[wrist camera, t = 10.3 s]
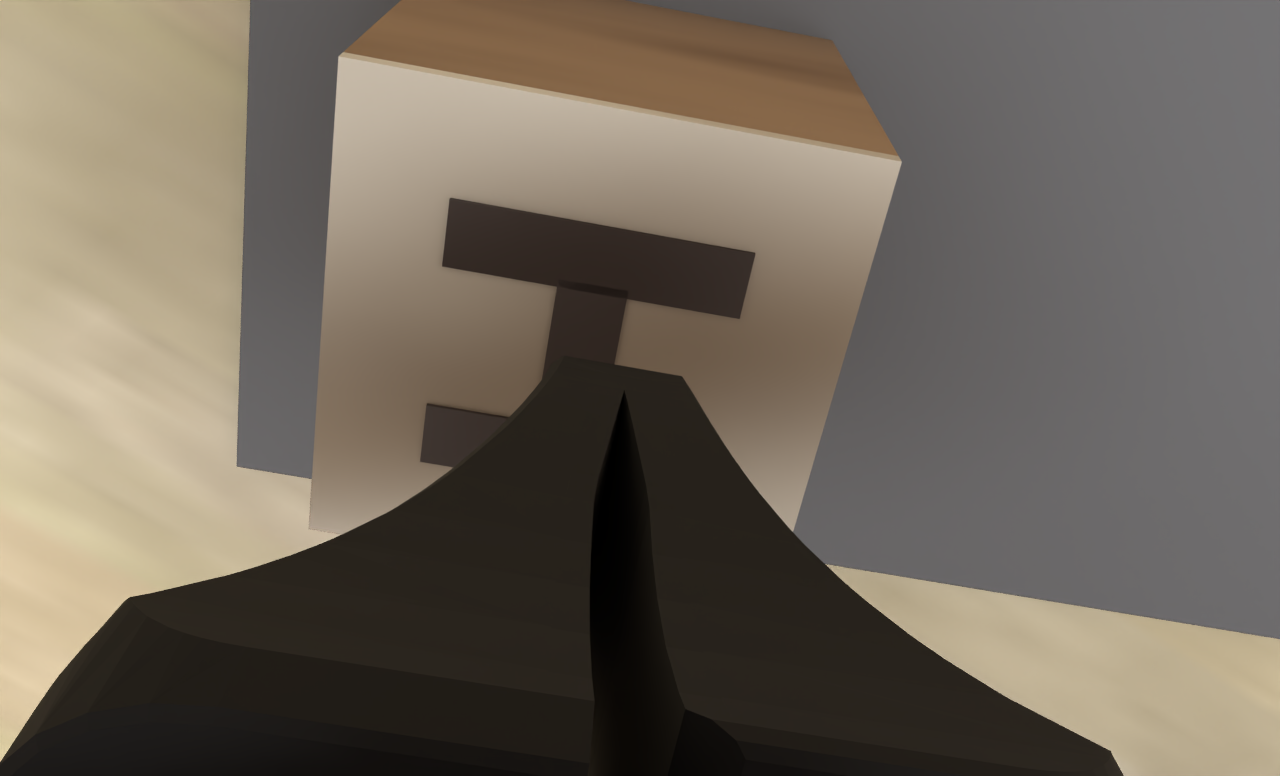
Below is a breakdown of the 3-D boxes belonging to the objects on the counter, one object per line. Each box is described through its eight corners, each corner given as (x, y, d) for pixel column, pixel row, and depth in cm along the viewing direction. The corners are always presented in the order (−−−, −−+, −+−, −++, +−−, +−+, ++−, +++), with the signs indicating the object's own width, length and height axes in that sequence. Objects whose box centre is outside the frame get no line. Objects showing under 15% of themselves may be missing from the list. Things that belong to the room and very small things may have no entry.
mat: (1402, 650, 24) (1410, 660, 24) (241, 457, 22) (236, 466, 22) (1818, -19, 18) (1836, -16, 17) (267, -344, 16) (260, -346, 16)
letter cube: (307, 531, 15) (405, 323, 21) (772, 606, 15) (745, 382, 21) (337, 57, 12) (440, -36, 18) (902, 162, 13) (832, 40, 18)
